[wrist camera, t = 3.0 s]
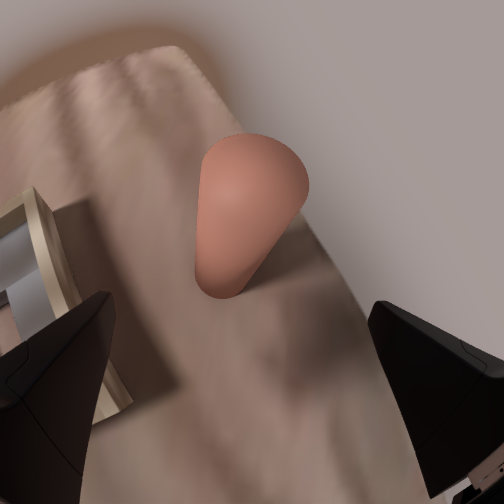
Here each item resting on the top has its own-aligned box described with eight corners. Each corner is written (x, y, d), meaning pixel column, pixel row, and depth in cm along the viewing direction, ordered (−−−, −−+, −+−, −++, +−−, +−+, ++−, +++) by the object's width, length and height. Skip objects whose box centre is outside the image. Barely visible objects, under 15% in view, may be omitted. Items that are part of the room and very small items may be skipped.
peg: (184, 281, 20) (178, 187, 9) (211, 238, 22) (235, 119, 11) (232, 308, 20) (283, 245, 9) (256, 263, 22) (322, 165, 11)
